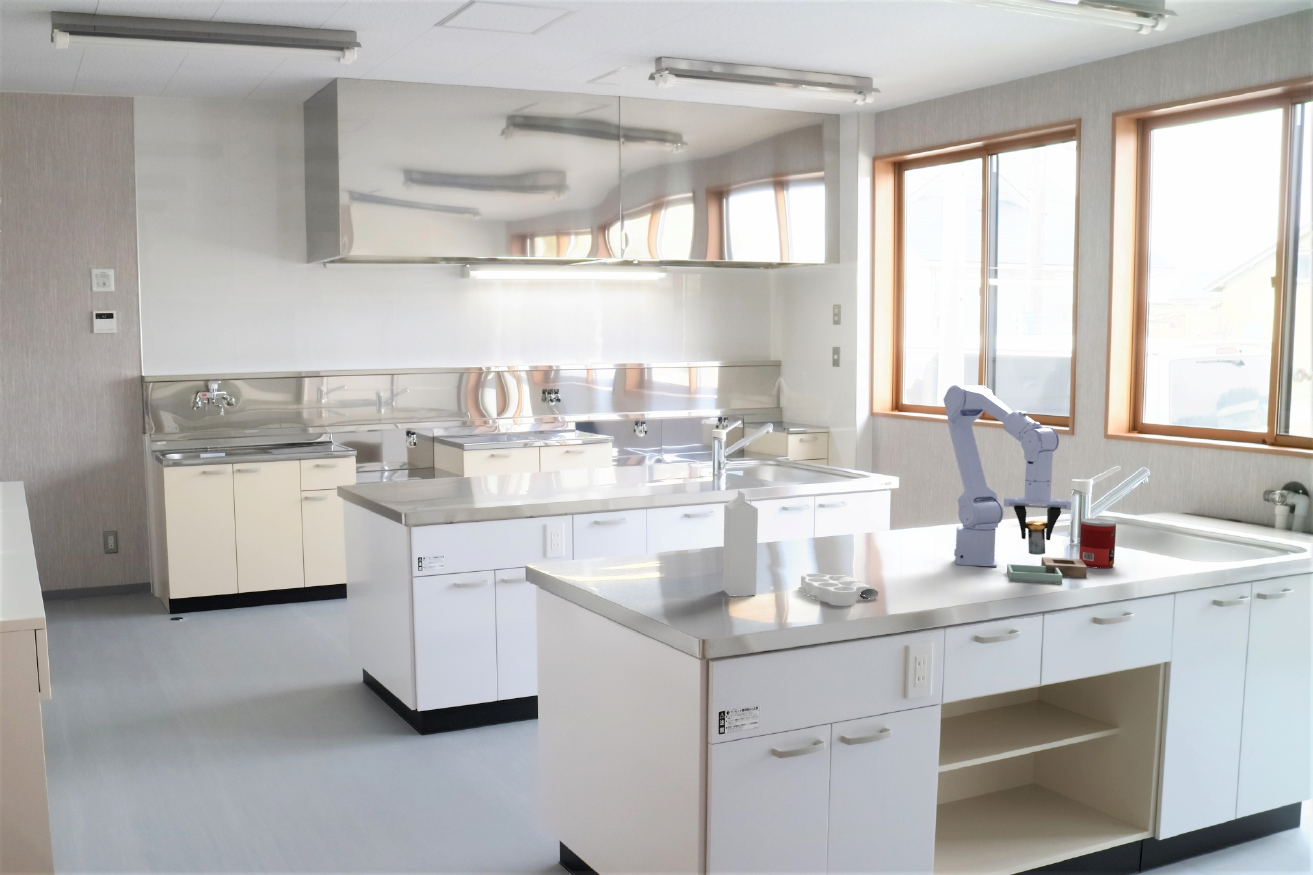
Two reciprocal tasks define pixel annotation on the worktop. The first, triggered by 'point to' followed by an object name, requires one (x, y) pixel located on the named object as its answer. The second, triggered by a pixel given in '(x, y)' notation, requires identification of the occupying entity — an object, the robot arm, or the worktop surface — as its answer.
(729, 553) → the milk
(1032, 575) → the tray
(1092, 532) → the canned food
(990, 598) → the worktop surface
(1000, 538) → the worktop surface
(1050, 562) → the socket block
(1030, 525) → the pin
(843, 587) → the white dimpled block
